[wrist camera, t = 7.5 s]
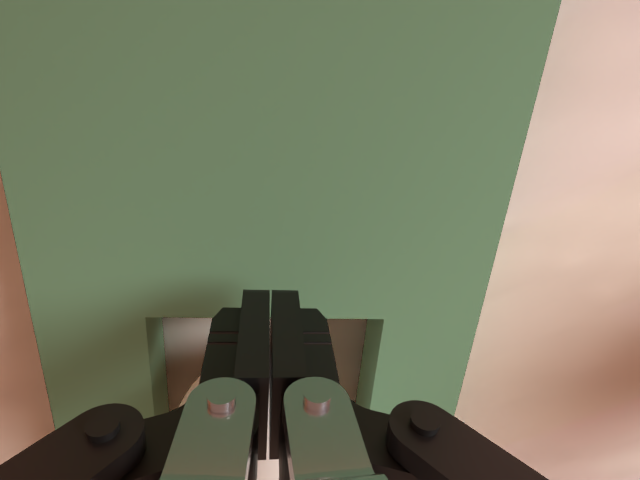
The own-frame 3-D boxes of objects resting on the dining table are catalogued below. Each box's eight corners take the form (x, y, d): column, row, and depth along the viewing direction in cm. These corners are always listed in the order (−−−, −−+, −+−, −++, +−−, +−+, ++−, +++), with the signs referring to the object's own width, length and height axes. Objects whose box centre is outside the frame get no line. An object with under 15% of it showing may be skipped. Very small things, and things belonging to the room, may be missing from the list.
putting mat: (-31, -231, 10) (-98, -291, 8) (555, -146, 12) (608, -179, 10) (104, 534, 20) (88, 582, 19) (403, 519, 22) (415, 562, 20)
